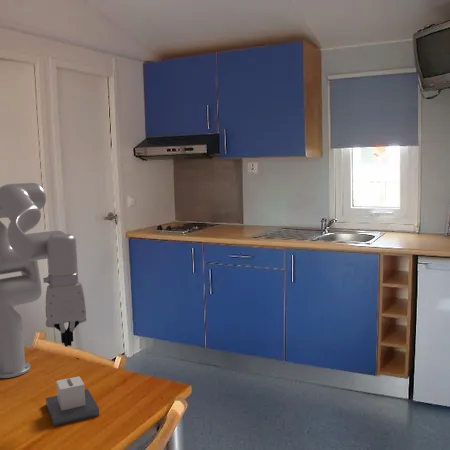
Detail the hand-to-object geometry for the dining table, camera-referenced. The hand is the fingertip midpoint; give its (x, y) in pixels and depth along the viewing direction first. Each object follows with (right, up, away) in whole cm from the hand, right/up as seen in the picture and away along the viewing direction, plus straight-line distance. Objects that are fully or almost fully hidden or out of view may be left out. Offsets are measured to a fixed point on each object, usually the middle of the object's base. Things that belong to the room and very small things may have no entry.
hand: (67, 344), depth 144 cm
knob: (0, -17, +2) cm, 17 cm away
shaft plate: (+1, -19, +2) cm, 19 cm away
